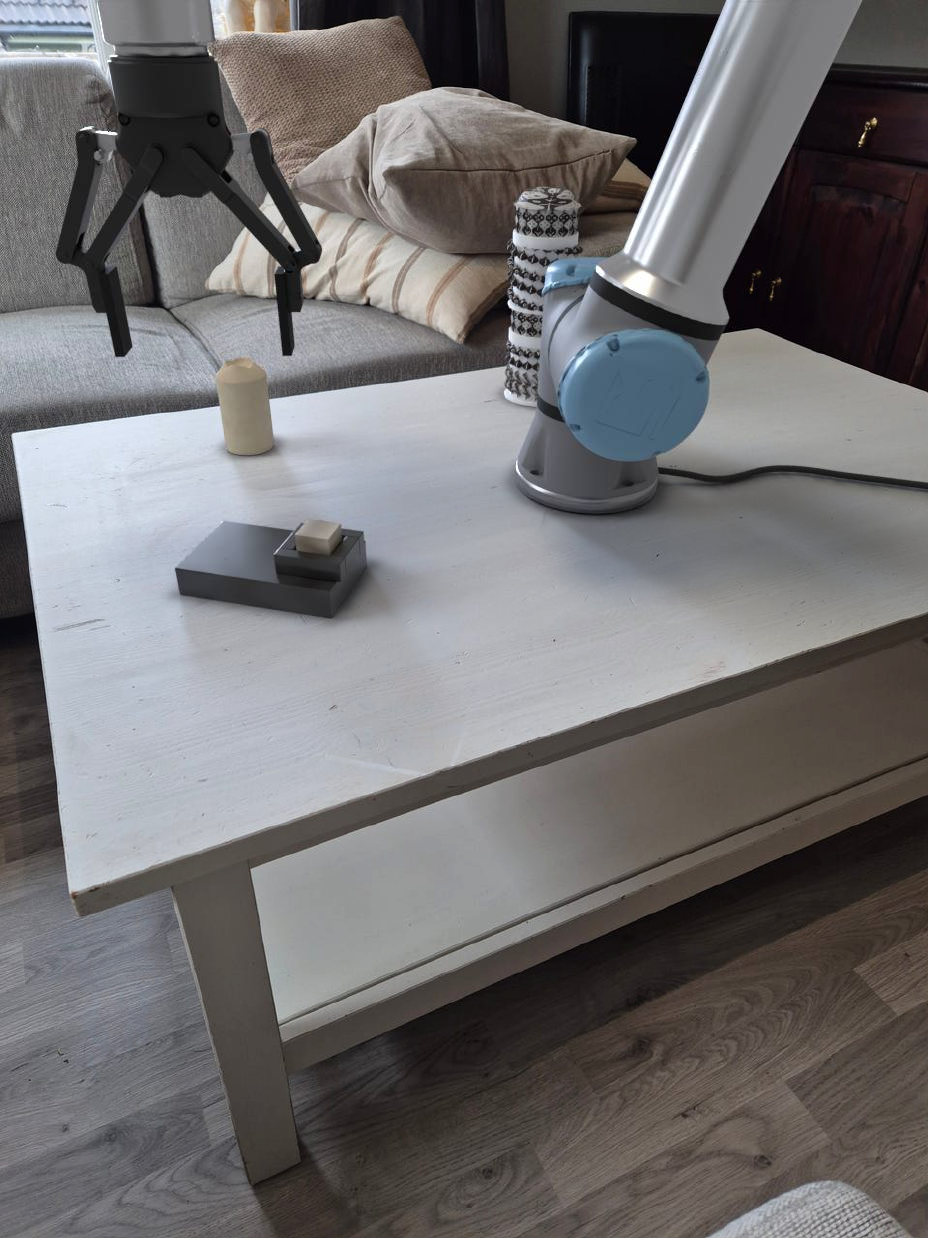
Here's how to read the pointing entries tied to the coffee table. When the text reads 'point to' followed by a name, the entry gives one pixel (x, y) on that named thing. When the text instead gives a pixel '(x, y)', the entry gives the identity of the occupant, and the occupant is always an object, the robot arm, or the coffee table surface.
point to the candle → (245, 407)
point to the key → (319, 537)
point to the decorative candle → (534, 279)
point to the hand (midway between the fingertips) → (206, 351)
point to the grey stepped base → (271, 569)
